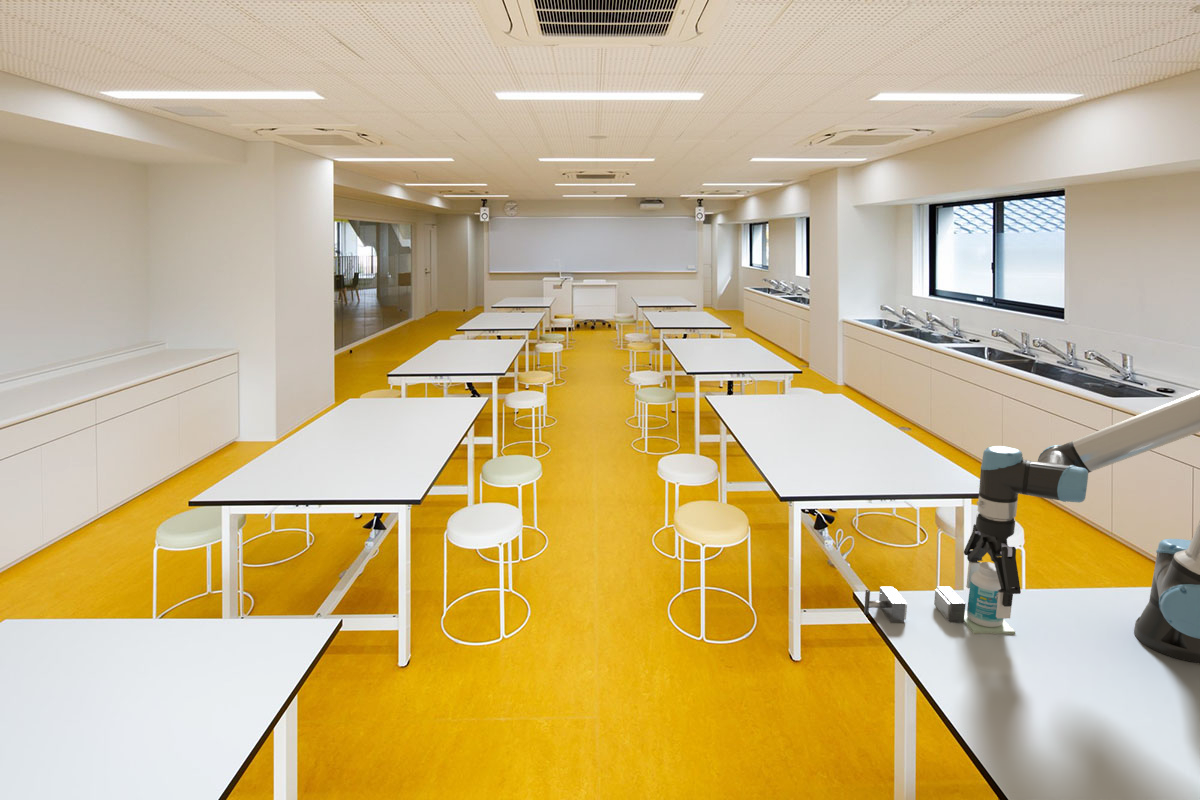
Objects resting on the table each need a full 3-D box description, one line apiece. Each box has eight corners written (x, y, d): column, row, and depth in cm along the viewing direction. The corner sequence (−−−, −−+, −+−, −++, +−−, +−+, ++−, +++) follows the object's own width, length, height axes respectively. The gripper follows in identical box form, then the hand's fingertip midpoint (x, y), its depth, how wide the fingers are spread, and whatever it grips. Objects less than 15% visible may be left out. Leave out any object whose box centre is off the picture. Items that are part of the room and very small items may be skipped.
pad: (994, 612, 162) (994, 610, 162) (1015, 633, 153) (1015, 631, 153) (955, 612, 163) (955, 610, 162) (974, 633, 154) (974, 631, 154)
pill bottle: (973, 627, 155) (979, 572, 152) (961, 611, 162) (966, 558, 159) (1009, 629, 154) (1015, 574, 151) (995, 613, 161) (1001, 559, 158)
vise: (947, 609, 166) (950, 582, 165) (963, 626, 158) (966, 599, 157) (858, 609, 167) (860, 582, 166) (869, 626, 159) (871, 599, 158)
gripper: (953, 495, 165) (946, 576, 169) (1008, 538, 140) (998, 631, 145) (985, 495, 164) (977, 576, 169) (1046, 538, 140) (1035, 631, 144)
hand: (987, 602), depth 157 cm, fingers open, 13 cm apart
